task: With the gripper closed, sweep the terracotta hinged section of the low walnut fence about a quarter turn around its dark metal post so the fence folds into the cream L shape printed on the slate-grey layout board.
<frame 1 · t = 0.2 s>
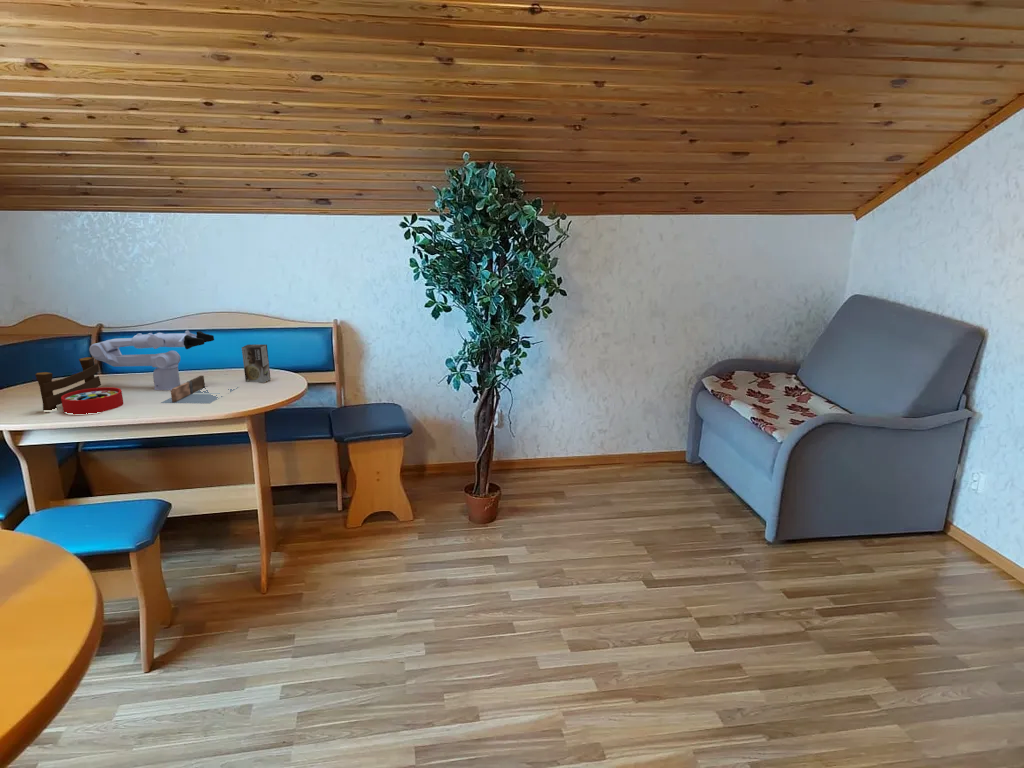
hand: (208, 339, 284), 21 cm above the table, tool horizontal, fingers open, 7 cm apart
coffee box: (258, 381, 303), on the table
fence gate: (180, 391, 273), point 3 cm above the table, hinge at 0.0°
toy clock: (94, 408, 263), on the table
layout board: (201, 395, 279), on the table
decorative fence: (72, 402, 272), on the table
fence fixed: (190, 393, 280), resting on layout board
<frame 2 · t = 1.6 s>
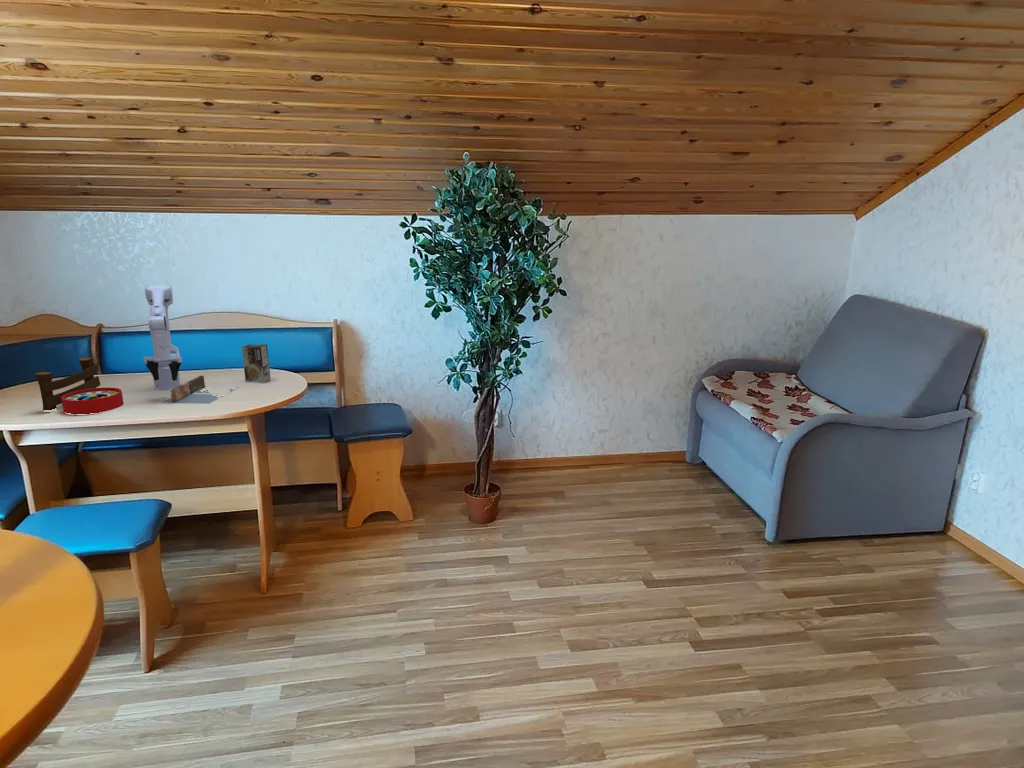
hand: (165, 380, 270), 8 cm above the table, tool pointing down, fingers open, 7 cm apart
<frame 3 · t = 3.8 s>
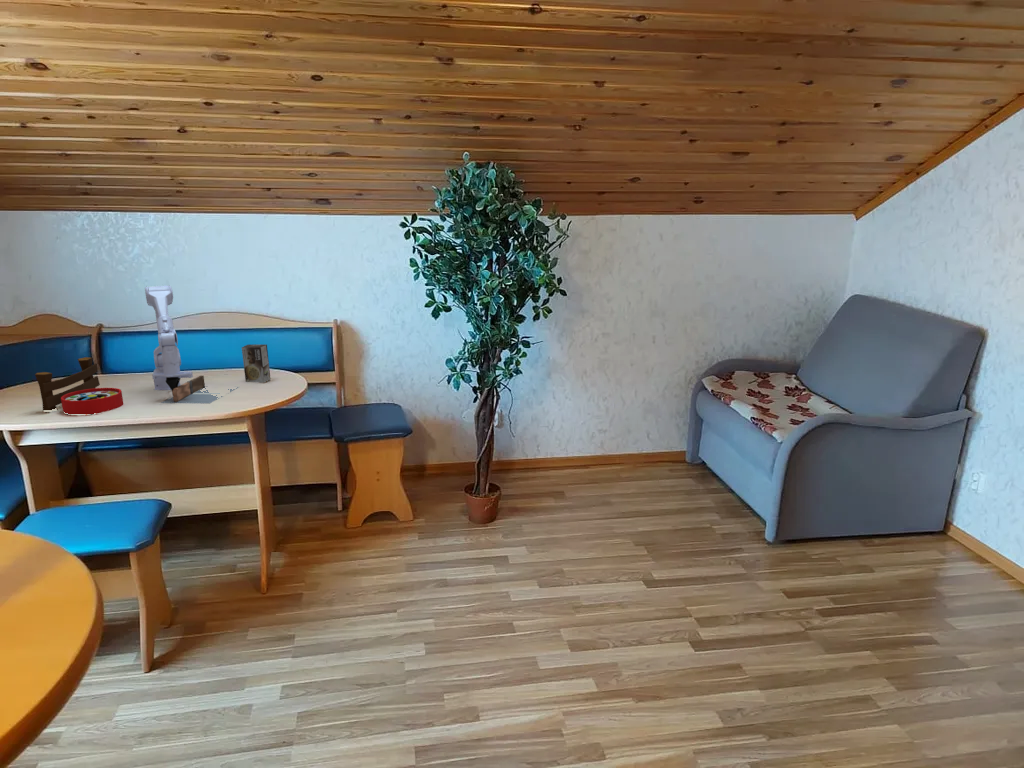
hand: (175, 395, 272), 2 cm above the table, tool pointing down, fingers closed
fence gate: (181, 391, 273), point 3 cm above the table, hinge at 2.8°, touching gripper
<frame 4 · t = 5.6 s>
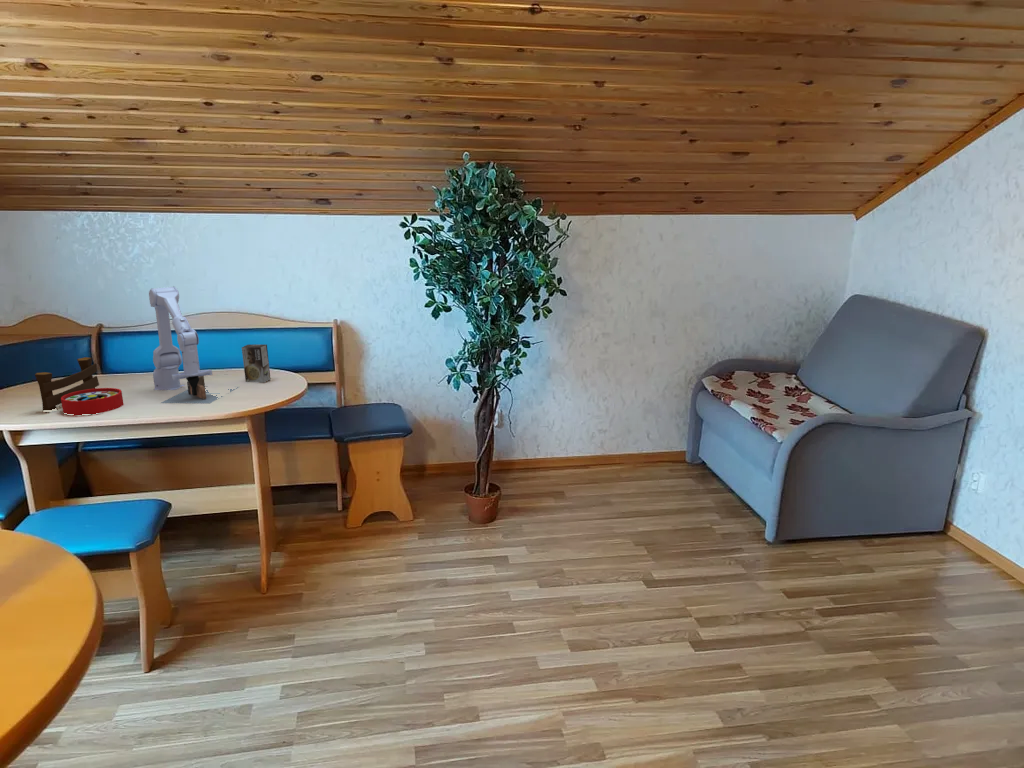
hand: (194, 394, 273), 2 cm above the table, tool pointing down, fingers closed
fence gate: (197, 390, 275), point 3 cm above the table, hinge at 50.7°, touching gripper
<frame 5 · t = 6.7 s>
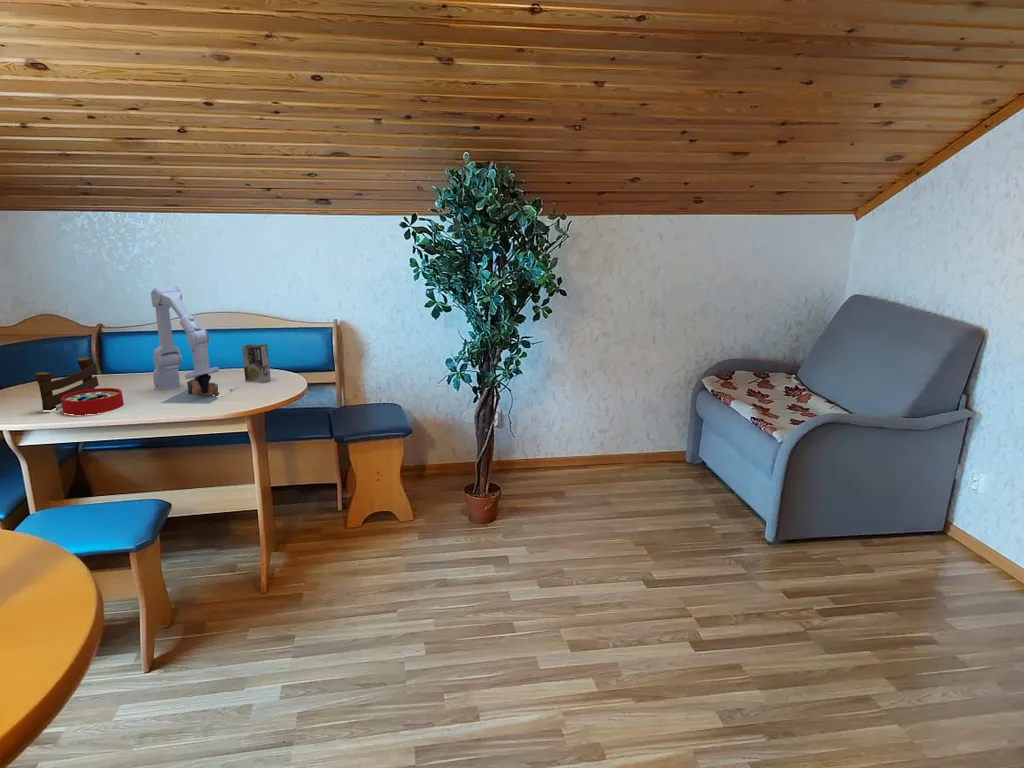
hand: (204, 392, 276), 2 cm above the table, tool pointing down, fingers closed
fence gate: (205, 388, 278), point 3 cm above the table, hinge at 77.5°, touching gripper
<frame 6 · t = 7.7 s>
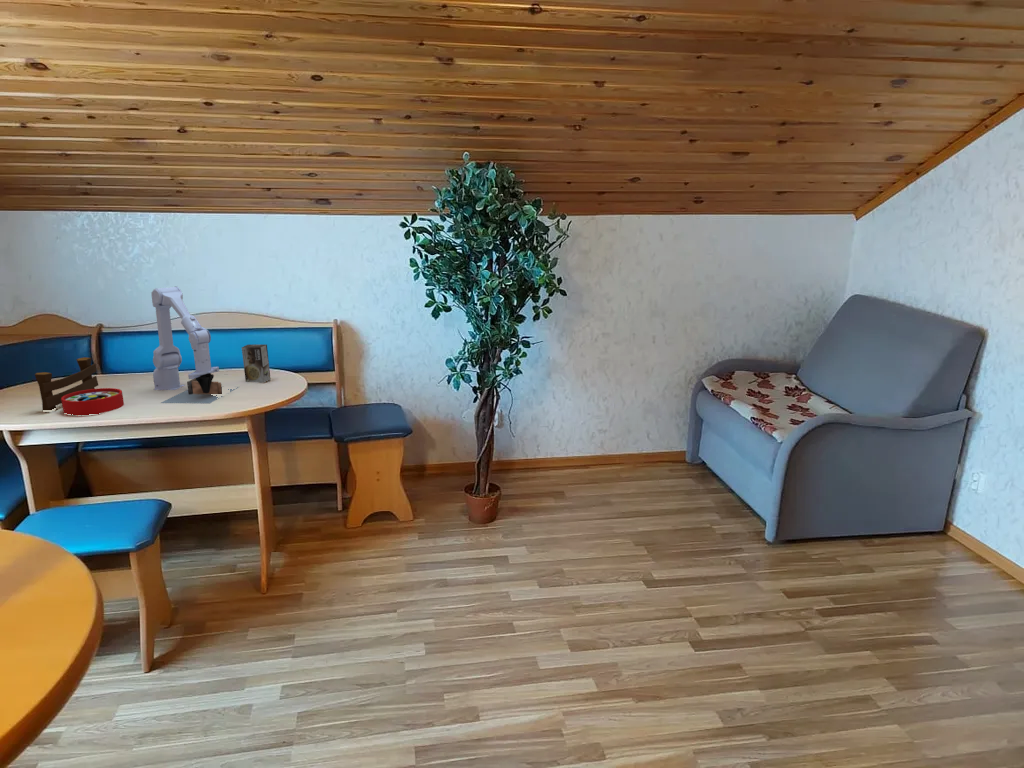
hand: (206, 392, 276), 2 cm above the table, tool pointing down, fingers closed
fence gate: (207, 387, 279), point 3 cm above the table, hinge at 88.4°
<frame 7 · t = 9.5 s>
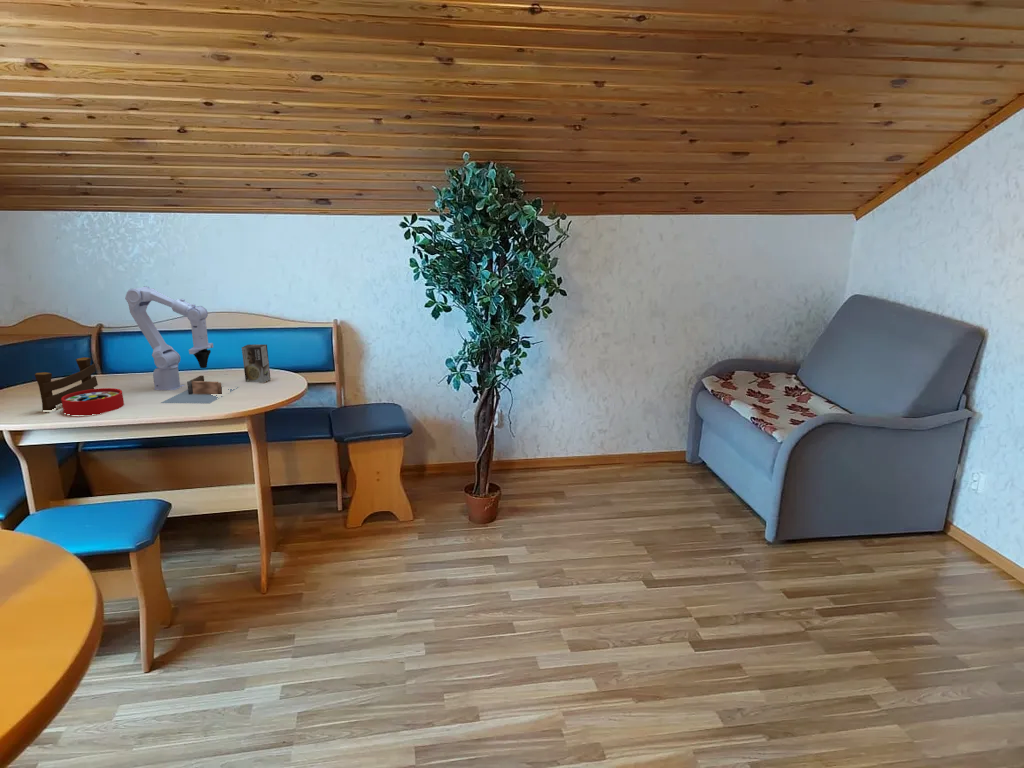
hand: (203, 367, 287), 9 cm above the table, tool pointing down, fingers closed
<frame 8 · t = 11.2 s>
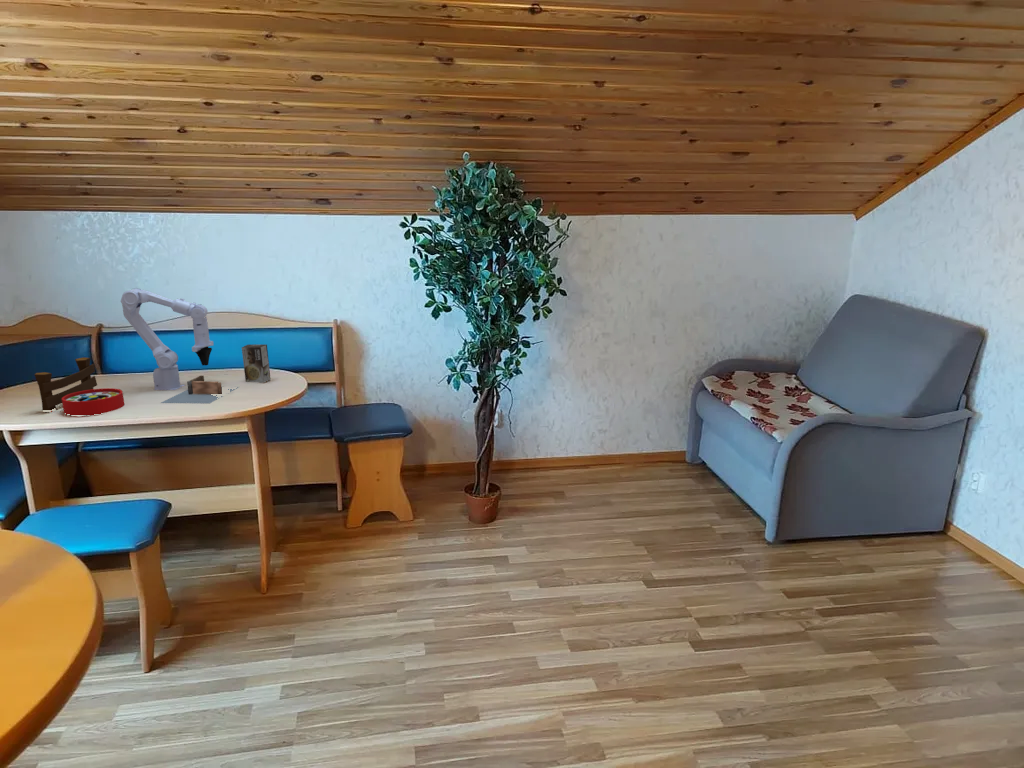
hand: (205, 365, 292), 9 cm above the table, tool pointing down, fingers closed
at the end: fence gate at +88° (first picture: +0°); coffee box moved 0.2 cm from its start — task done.
